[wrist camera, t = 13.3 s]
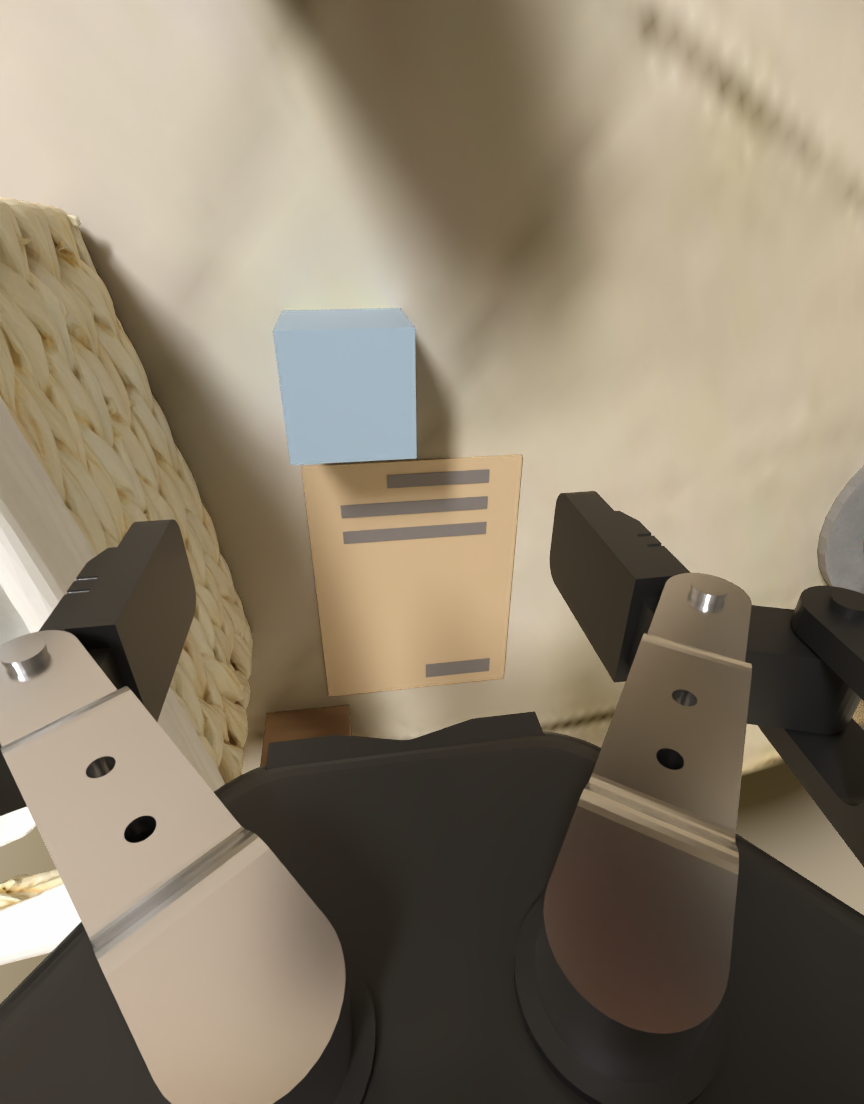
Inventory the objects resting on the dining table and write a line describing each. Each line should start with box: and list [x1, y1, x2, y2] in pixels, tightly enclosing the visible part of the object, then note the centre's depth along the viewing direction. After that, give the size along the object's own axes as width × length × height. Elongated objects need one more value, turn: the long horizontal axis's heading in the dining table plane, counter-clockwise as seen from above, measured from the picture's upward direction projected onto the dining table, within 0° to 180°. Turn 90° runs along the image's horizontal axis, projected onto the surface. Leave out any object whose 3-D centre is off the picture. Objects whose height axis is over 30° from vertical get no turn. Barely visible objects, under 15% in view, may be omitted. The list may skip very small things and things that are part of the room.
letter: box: [301, 455, 523, 697], centre depth 32 cm, size 11×15×1 cm
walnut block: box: [260, 705, 352, 767], centre depth 35 cm, size 5×7×5 cm
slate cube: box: [273, 308, 417, 465], centre depth 24 cm, size 5×5×5 cm
